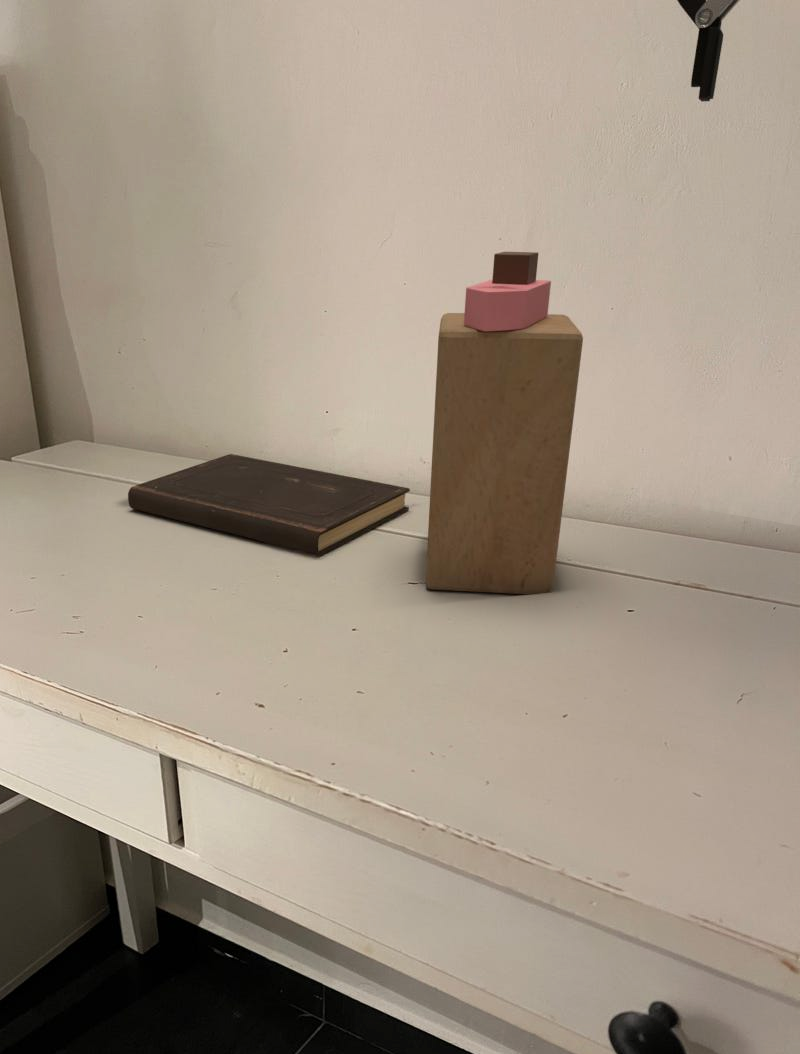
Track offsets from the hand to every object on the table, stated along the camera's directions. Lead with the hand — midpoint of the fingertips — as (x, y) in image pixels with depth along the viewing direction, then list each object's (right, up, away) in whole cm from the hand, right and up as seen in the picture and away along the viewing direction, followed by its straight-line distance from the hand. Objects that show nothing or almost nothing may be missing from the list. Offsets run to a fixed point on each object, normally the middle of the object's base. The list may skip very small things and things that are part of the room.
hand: (782, 97), depth 60 cm
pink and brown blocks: (-17, -13, +7) cm, 22 cm away
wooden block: (-17, -30, +16) cm, 38 cm away
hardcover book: (-36, -23, +31) cm, 53 cm away
